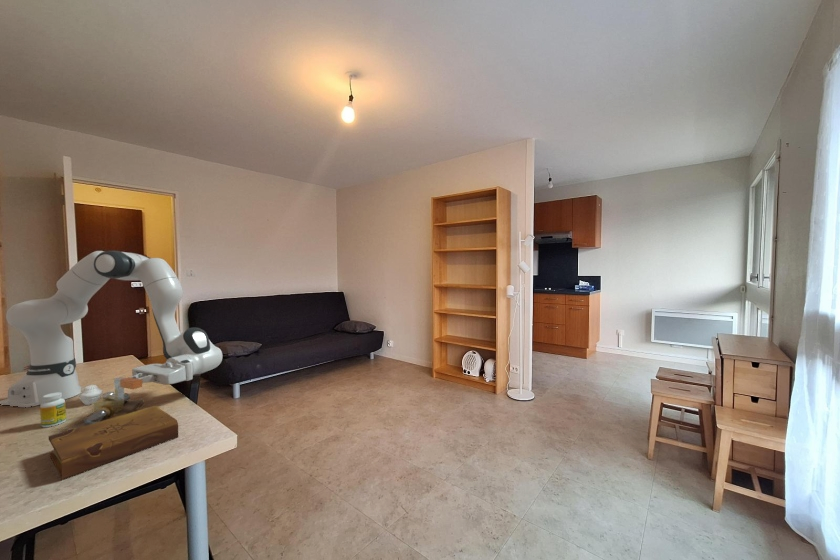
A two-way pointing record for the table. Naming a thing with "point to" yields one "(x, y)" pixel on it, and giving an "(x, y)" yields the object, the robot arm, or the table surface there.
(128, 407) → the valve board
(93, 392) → the muffin
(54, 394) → the supplement bottle
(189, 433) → the table surface
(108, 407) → the ball valve
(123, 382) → the valve lever
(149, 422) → the brown wooden block
